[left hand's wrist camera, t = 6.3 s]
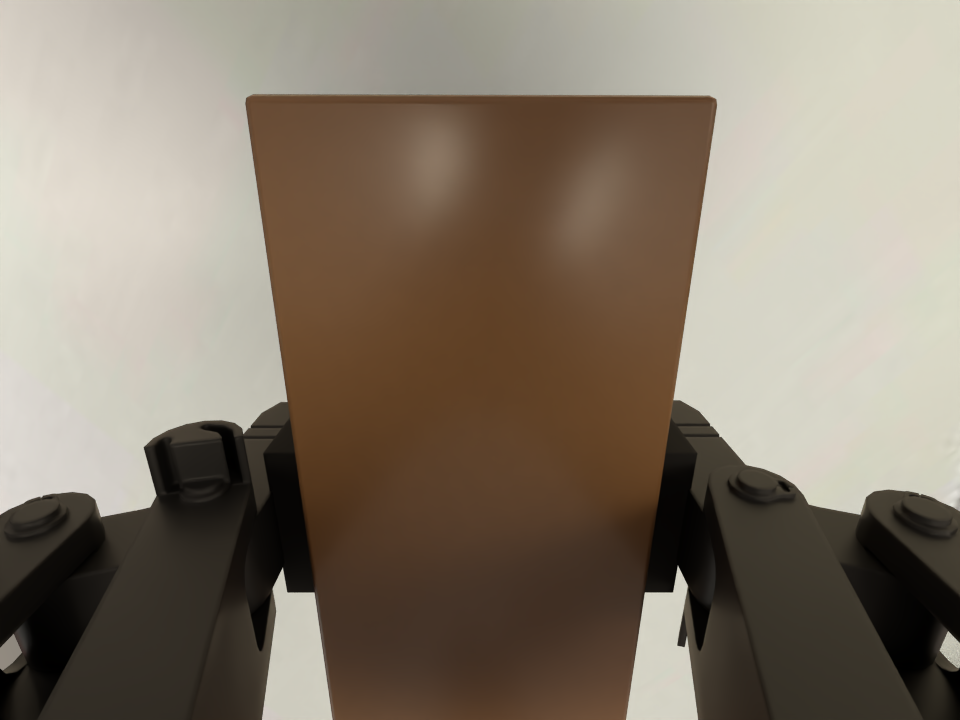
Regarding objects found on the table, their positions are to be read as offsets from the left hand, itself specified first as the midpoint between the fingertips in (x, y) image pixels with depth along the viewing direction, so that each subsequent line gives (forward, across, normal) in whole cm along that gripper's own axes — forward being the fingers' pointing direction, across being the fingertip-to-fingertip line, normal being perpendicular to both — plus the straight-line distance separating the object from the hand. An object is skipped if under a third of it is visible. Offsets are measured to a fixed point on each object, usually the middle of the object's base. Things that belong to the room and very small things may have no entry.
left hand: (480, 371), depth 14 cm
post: (0, 0, -20) cm, 20 cm away
